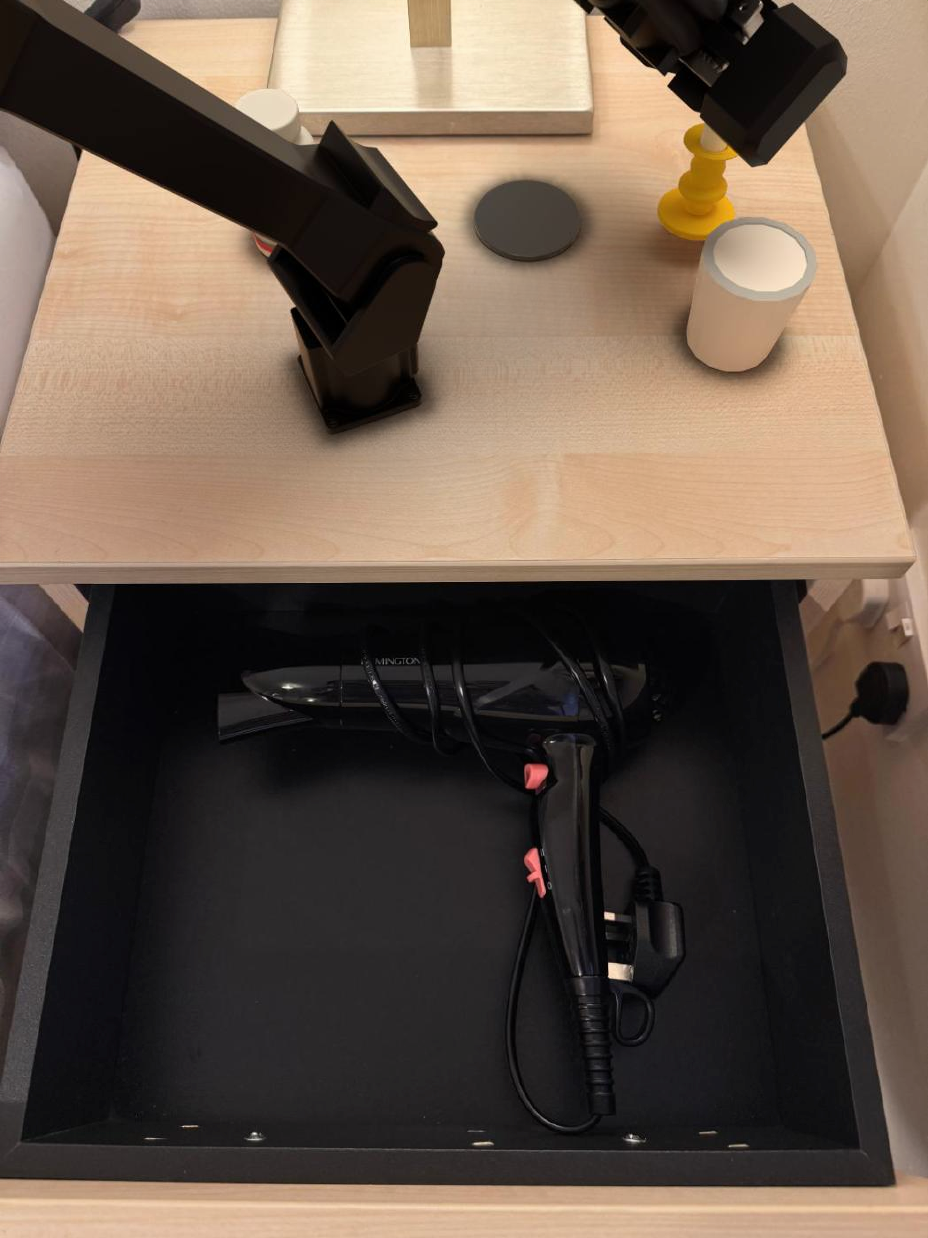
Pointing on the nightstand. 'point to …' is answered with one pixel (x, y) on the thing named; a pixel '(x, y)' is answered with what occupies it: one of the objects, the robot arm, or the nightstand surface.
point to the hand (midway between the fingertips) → (738, 81)
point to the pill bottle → (274, 127)
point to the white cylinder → (747, 291)
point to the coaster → (527, 220)
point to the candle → (699, 188)
